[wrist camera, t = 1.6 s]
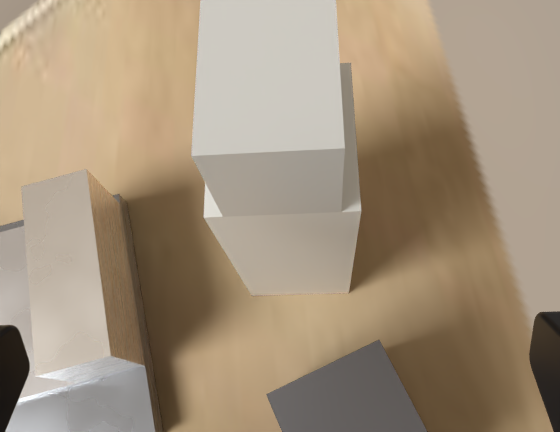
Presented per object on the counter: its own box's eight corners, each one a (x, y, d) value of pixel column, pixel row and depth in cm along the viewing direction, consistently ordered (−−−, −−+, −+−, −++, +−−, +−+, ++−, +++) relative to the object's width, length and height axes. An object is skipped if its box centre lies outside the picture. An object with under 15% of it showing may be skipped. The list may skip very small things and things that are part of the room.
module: (348, 293, 21) (371, 147, 10) (251, 296, 22) (166, 157, 10) (342, 189, 23) (356, -37, 12) (252, 193, 23) (180, -24, 12)
